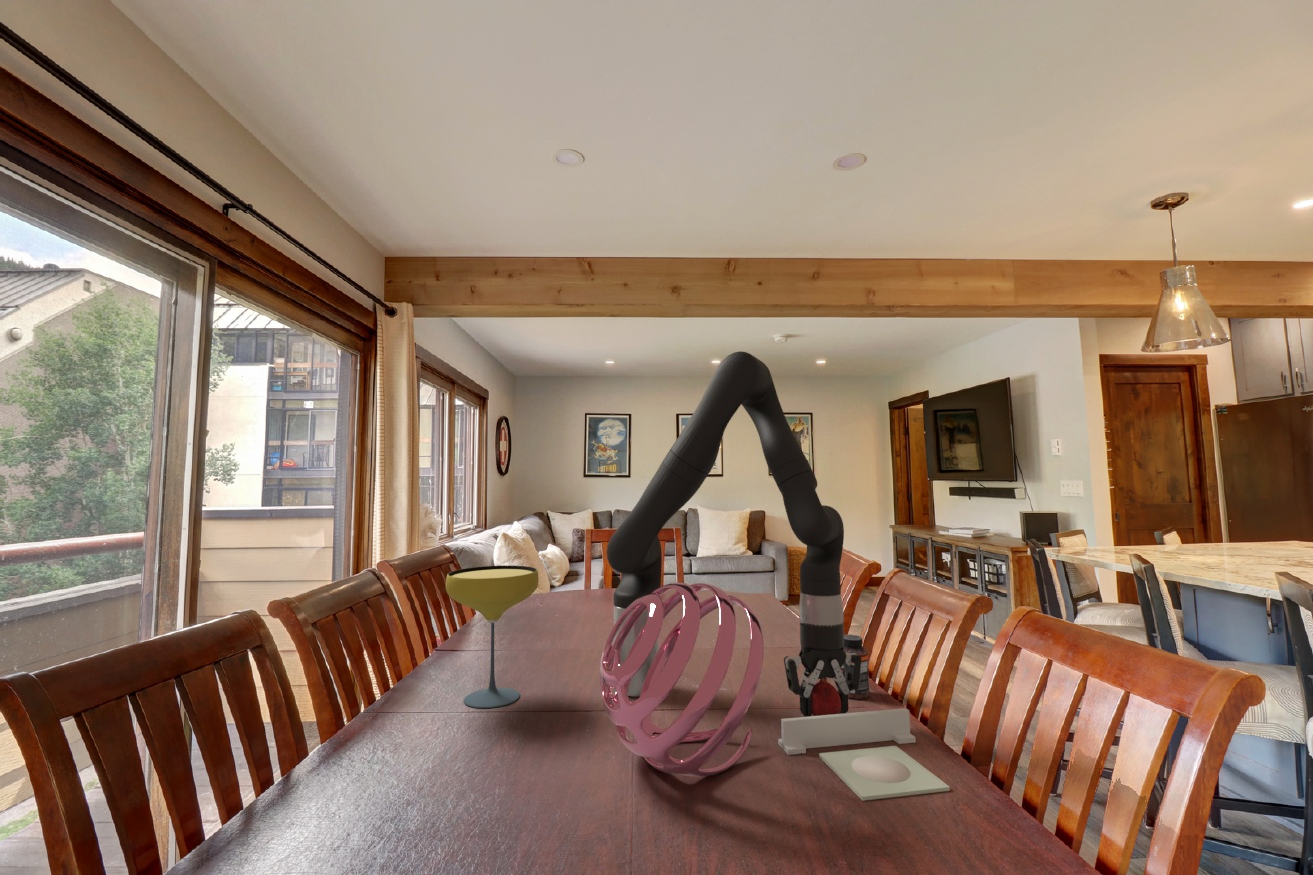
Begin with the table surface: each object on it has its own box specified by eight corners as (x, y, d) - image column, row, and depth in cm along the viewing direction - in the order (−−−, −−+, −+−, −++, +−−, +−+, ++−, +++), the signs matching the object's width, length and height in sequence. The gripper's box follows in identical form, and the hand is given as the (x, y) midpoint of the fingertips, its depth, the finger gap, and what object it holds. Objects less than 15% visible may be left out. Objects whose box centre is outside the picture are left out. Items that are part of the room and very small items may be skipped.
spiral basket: (771, 605, 110) (657, 528, 103) (850, 694, 83) (703, 597, 76) (681, 726, 110) (560, 657, 103) (730, 853, 83) (572, 772, 76)
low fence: (787, 754, 93) (787, 725, 93) (778, 743, 97) (777, 715, 97) (915, 742, 96) (914, 713, 97) (901, 732, 100) (900, 704, 101)
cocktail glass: (544, 707, 113) (545, 575, 115) (444, 722, 107) (446, 581, 109) (531, 678, 130) (531, 563, 132) (443, 689, 124) (445, 568, 126)
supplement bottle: (833, 690, 121) (831, 633, 122) (861, 688, 121) (859, 632, 122) (845, 700, 115) (843, 641, 116) (874, 699, 116) (872, 640, 116)
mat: (862, 800, 79) (862, 796, 79) (819, 756, 92) (819, 752, 92) (949, 790, 81) (949, 786, 82) (895, 748, 94) (895, 745, 94)
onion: (843, 731, 101) (842, 683, 102) (808, 729, 102) (807, 681, 103) (840, 718, 107) (838, 672, 107) (807, 715, 108) (805, 670, 108)
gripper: (848, 611, 111) (851, 704, 109) (775, 615, 108) (777, 711, 107) (869, 621, 103) (873, 721, 102) (791, 625, 101) (794, 728, 100)
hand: (824, 715), depth 104 cm, fingers closed on onion, 5 cm apart
